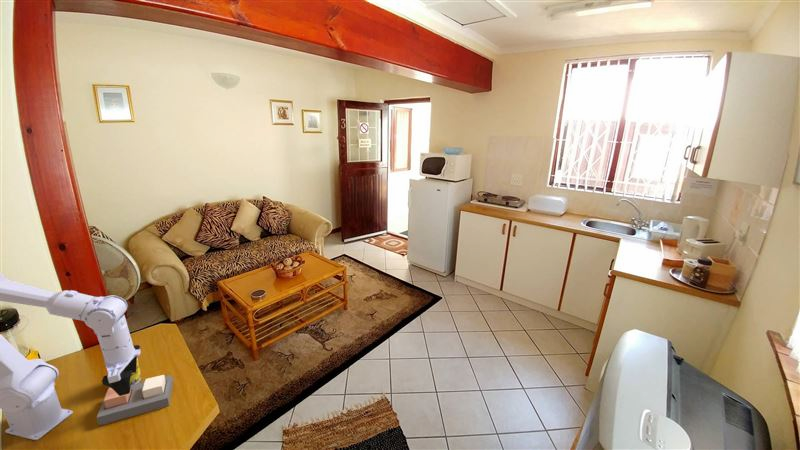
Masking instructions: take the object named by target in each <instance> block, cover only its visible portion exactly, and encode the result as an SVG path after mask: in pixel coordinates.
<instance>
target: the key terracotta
mask: <svg viewBox="0 0 800 450" xmlns="http://www.w3.org/2000/svg"><path fill="white" fill-rule="evenodd" d="M107 391H108V392H107ZM107 391H106V393H107V394H106V393H105V395H106V397H105V396H104V398H105V399H103V400H104V403H105V407H106V409H109V408H113V407H117V406H120V405H124V404H128V401H129V398H130V394H131V389H130V393H129V394H126V395H122V396H119V395H118V394H117V393H116V392H115V391H114V390H113V389H112V388H111V387H108V389H107Z"/></svg>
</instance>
